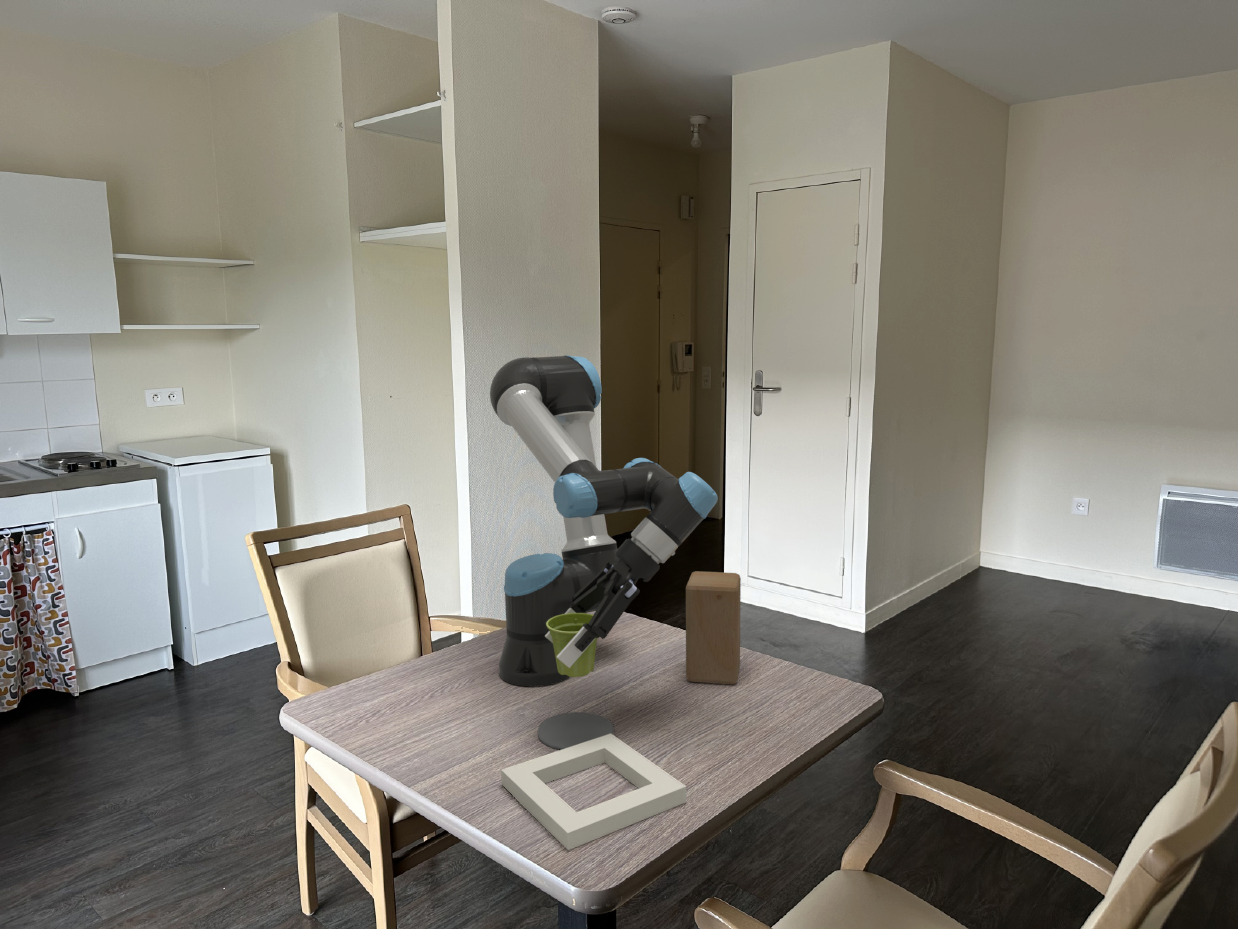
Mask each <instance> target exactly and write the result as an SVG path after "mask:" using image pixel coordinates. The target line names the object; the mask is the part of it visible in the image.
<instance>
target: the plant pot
mask: <svg viewBox="0 0 1238 929" xmlns="http://www.w3.org/2000/svg"><path fill="white" fill-rule="evenodd" d="M593 615H594V614H592V613H568V614H562V615H558V616H555V617H552V618H550V619H549V620H548V621H547V623H546V626H547V628H548V629H549V631H550V635H551V636H552V641H553V646H554V652H555V657H556V663H557V669H558V672H559V673H560V674H561V675H568V676H569V678H580V677H585V676H587V675H590V673H591V672H594V669H595V660H596V650H597V644H598V638H595V640H594V641H593V642H592V643H591V644H590V645H589V646H588V648H587V649H586V650H585V651H584V652H583V653H582V654H581V655H580V657H579V658H578V659H577V660H576V661H575V662H574V663H573V665H572V666H571V667H570V668H569V667H568V666H566V665H565V664H564V663H563V662H561V661H560V660H559V659H558V658H557V656H558V654H559V653H560V652H561V651H562V650H563V649H564V648H565V646H566V645H567V644H568V643H569V642H570V641H571V640H572V639H573V637H574V636H575V635H576V634H577V633H578V632H579V631H580V630H581V628H582V627H583V624H586V623H588V624H589V622H590V620H591V619H592V617H593Z"/></svg>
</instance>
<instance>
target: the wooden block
mask: <svg viewBox="0 0 1238 929" xmlns="http://www.w3.org/2000/svg"><path fill="white" fill-rule="evenodd" d="M741 587H742V586H741V575H740V574H739V573H737V572H724V571H723V572H722V571H721V572H720V571H719V572H718V571H698V570H697V571H696V570H695V571H693V572H691V575H690V576H689V580H688V581H687V584H686V586H685V677H686V680H687V681H689V682H694V683H706V684H721V685H735V684H736V683H737V682H738V678H739V673H740V671H739V670H740V666H741V596H742V595H741V590H742V589H741Z"/></svg>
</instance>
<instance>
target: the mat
mask: <svg viewBox="0 0 1238 929" xmlns="http://www.w3.org/2000/svg"><path fill="white" fill-rule="evenodd" d="M608 734H612V735H614V734H615V733H614V725H613V723H612V722H611V720H609V719H608V718H606V717H605V716H603V715H600V714H597V713H593V712H585V711H574V712H573V711H572V712H566V713H565V712H564V713H560V714H556V715H553V716H551V717H549V718H547V719H546V720H544V721H543V722H541V724H540V725H539V726H538V729H537V737H538V740H539V741H540V742H541V743H542V744H544V745H545V746H547V747H549V748H551V749H555V750H557V751H559V749H560V750H562V749H565V748H568V747H571V746H574V745H577V744H580V743H583V742H586V741H590V740H593V739H596V738H599V737H602V736H605V735H608Z"/></svg>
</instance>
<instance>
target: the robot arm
mask: <svg viewBox="0 0 1238 929" xmlns="http://www.w3.org/2000/svg"><path fill="white" fill-rule="evenodd" d="M602 387H603V386H602V381H601V378H600V375H599V372H598V370H597V368H596V367H595V365H594V364H593V363H592V362H591V361H590V360H589V359H588V358H586V357H583V356H574V355H573V356H572V355H567V354H565V355H559V356H558V355H557V356H541V357H540V356H538V357H530V356H529V357H528V356H527V357H518V358H515V359H512V360H510V361H508V362H507V363H505V364H503V365H502V367H500V368H499V370H498V371H497V372H496V373H495V375H494V377H493V379H492V382H491V384H490V388H489V389H490V391H489V399H490V405H491V407H492V409H493V412H494V413H495V415H496V416H497V417H498V419H499V420H500V421H501V422H502V423H503V424H505V425H507V426H510V427H512V429H513V430H514V431H515V432H516V433H517V435H518V436H519V438H520V439H521V440H522V441H523V443H524V444H525V445H526V447H527V448H528V450H529V451H530V452H531V453H532V455H533V456H534V457H535V459H536V460H537V461H538V462H539V464H540V465H541V466H542V468H543V469H544V471H545V472H546V473H547V474H548V476H549V477H550V478H551V480H552V481H553V482H554V484H553V488H552V489H553V490H552V491H553V492H552V493H553V495H552V496H553V501H554V503H555V506H556V507H555V508H556V510H557V512H558V514H560V516H562V517H563V523H564V524H563V525H564V530H565V536H566V544H565V545H564V546H563V548H562V549H561V556H560V554H556V553H550V552H545V553H541V554H540V553H534V554H528V555H526V556H523V557H519V558H518V559H516V560H514V561H512V562H511V563H510V564H509V565H508V566H507V568H506V570H505V572H504V585H503V592H504V601H505V602H504V603H505V623H506V624H505V626H506V627H505V628H506V638H505V642H504V645H503V648H502V652H501V655H500V659H499V661H498V662H499V663H498V671H499V672H498V674H499V677H500V678H501V679H502V680H503V681H504V682H506V683H508V684H511V685H515V686H520V687H544V686H549V685H553V684H558V683H560V682H563V681H565V680H568V679H569V678H570V677H569V676H568V675H561V674H560V673H559V672H558V669H557V663H556V657H555V652H554V646H553V641H552V636H551V635H550V631H549V629H548V628H547V626H546V623H547V621H548V620H549V619H550V618H552V617H555V616H558V615H562V614H568V613H587V614H590V613H593V612H594V614H593V617H592V619H591V620H590V622H589V624H588V623H586V624H583V627H582V628H581V630H580V631H579V632H578V633H577V634H576V635H575V636H574V637H573V639H572V640H571V641H570V642H569V643H568V644H567V645H566V646H565V648H564V649H563V650H562V651H561V652H560V653H559V654H558V656H557V658H558V659H559V660H560V661H561V662H563V663H564V664H565V665H566V666H568V667H569V668H570V667H571V666H572V665H573V663H574V662H575V661H576V660H577V659H578V658H579V657H580V655H581V654H582V653H583V652H584V651H585V650H586V649H587V648H588V646H589V645H590V644H591V643H592V642H593V641H594V640H595V638H597V639H599V638H601V639H602V640H604V639H605V638H607V636H609V634H610V632H611V631H612V629H613V628H614V627H615V625H616V624H617V622H618V621H619V619H620V618H621V617H622V616H623V613H625V611H626V610H627V609H628V607H629V605H630V604H631V603H632V601H634V599H636V598H637V596H638V595H639V594H640V591H641V590H640V589H639V588H638V587H637V586H636V584H637V582H638V580H639V579H641V580H643V582H646V583H648V582H649V581H651V579H652V578H653V577H654V576H655V575H656V574H657V572H658V571H659V570H660V567H661V566H660V565H659V564H660V563H661V564H665V563H666V561H667V560H668V559H670V558H671V556H672V557H673V556H675V554H676V550H677V549H678V547H680V546H681V545H682V544H683V542H685V540H686V539H687V538H688V537H689V536H690V534H692V533H693V531H695V529H696V528H697V527H698V526H699V525H700V523H702V521H703V520H704V519H706V518H707V516H708V514H709V513H710V512H711V511H712V510H713V508H714V507H715V505H716V504H717V503H718V499H719V498H718V494H717V493H716V491H715V490H714V489H713V488H712V487H711V485H709V484H708V483H707V482H706V481H705V480H704V479H703V478H701V477H700V476H699V475H697V474H696V473H694V472H691V471H687V472H685V473H684V474H683V475H682V476H680V477H679V478H678V477H676V476H674V475H673V474H672V473H670V472H669V471H667V470H666V469H664V467H662V466H661V465H659V464H658V463H656V462H654V461H652V460H650V459H648V458H645V457H638V458H634V459H632V460H631V461H629V462H627V463H626V464H625V465H624V467H623V468H617V469H607V470H600V469H598V467H597V463H596V456H595V451H594V445H593V438H592V433H591V432H592V431H591V427H590V423H591V421H592V420H593V418H594V417H595V409H596V408H598V406H599V405H600V403H601V400H602V396H601V394H602V393H603V392H602V391H603V390H602ZM642 509H646V510H648V511H650V513H649V514H647V515H646V516H645V517H644V518H643V519H642V521H640V523H639V524H638V525H637V526H636V527H635V529H633V531H632V532H631V533H630V536H631V538H628V539H627V538H626V539H625V540H624V541H623V542H622V544H621V545H620V546H619V547H618V545H617V541H616V540H615V539H613V537H611V536H610V535H609V534H608V530H607V523H606V517H605V515H607V514H613V513H619V512H626V511H634V510H642Z"/></svg>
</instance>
